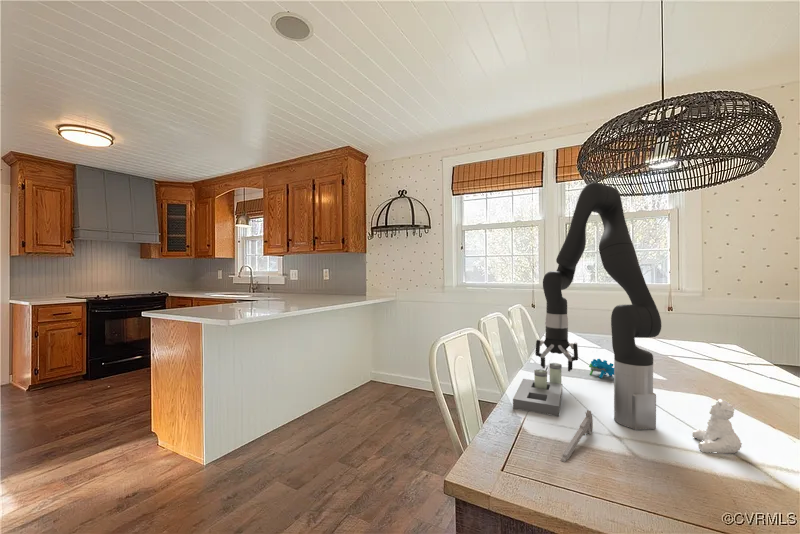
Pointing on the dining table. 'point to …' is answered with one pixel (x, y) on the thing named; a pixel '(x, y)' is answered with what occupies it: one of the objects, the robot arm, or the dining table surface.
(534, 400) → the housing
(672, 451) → the dining table surface
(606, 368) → the blue spiky dinosaur toy
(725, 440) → the white creature statuette
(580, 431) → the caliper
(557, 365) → the pale green canister
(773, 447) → the dining table surface
